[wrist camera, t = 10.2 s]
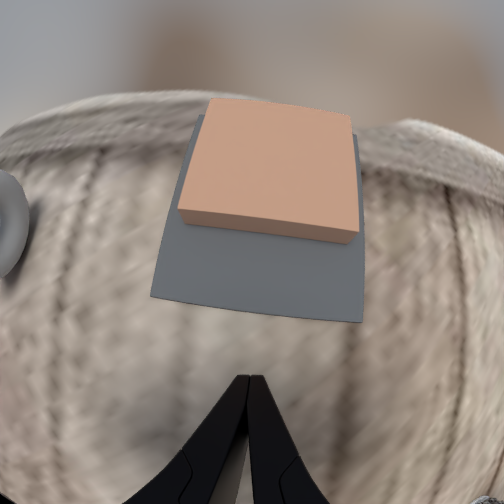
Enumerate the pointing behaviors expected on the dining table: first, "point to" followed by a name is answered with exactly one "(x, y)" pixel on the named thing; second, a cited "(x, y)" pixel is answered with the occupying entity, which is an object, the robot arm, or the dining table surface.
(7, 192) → the donut
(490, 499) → the decorative candle
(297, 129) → the terracotta tile
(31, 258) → the dining table surface
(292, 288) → the rubber mat
